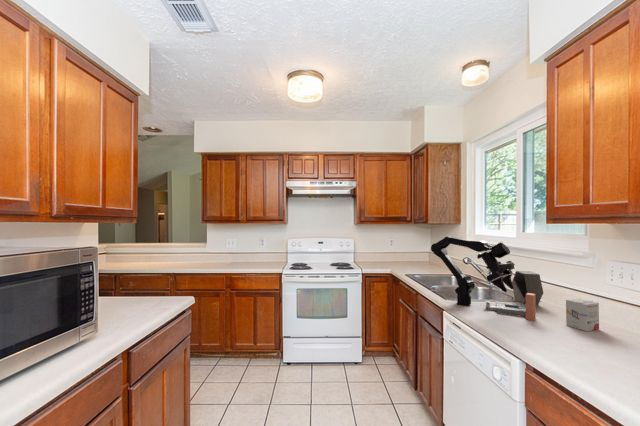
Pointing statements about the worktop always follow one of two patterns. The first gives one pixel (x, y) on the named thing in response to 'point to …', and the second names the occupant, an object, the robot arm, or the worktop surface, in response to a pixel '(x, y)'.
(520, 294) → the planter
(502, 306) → the grey square frame
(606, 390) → the worktop surface
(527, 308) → the wedge pin
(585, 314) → the ink box
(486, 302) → the bracket
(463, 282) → the robot arm
